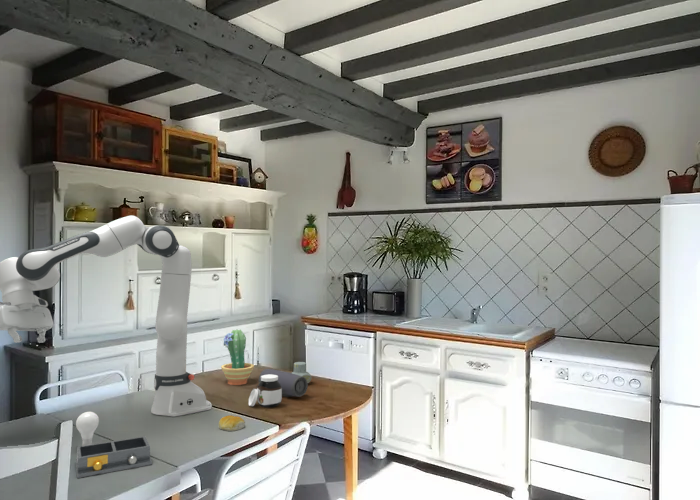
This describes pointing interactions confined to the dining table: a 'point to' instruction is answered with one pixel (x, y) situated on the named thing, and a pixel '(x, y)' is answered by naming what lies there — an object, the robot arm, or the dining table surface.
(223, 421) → the bread roll
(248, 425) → the dining table surface
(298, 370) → the air freshener
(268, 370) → the bluetooth speaker
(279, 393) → the spread jar
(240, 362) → the potted cactus
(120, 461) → the grey rectangular box
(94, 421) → the lightbulb
